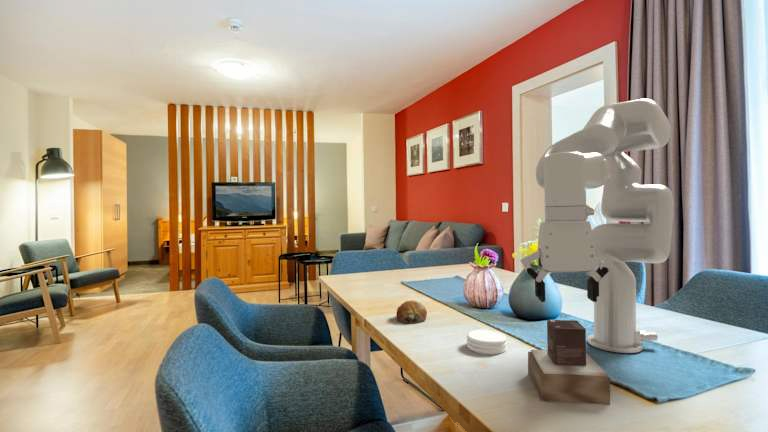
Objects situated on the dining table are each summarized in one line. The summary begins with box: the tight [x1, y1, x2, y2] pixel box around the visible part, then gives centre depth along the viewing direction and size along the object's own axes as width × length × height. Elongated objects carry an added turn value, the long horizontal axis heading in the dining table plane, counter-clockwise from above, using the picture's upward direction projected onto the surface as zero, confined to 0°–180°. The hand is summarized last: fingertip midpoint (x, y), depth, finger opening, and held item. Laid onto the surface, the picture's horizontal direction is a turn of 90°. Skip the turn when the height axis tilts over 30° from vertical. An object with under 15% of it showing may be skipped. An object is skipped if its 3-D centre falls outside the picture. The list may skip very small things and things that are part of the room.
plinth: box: [527, 349, 611, 405], centre depth 81 cm, size 12×12×6 cm
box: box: [546, 319, 587, 366], centre depth 80 cm, size 6×6×7 cm
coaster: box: [466, 329, 508, 356], centre depth 104 cm, size 10×10×4 cm
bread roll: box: [396, 300, 428, 324], centre depth 131 cm, size 10×10×8 cm
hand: (566, 300), depth 81 cm, fingers open, 9 cm apart
